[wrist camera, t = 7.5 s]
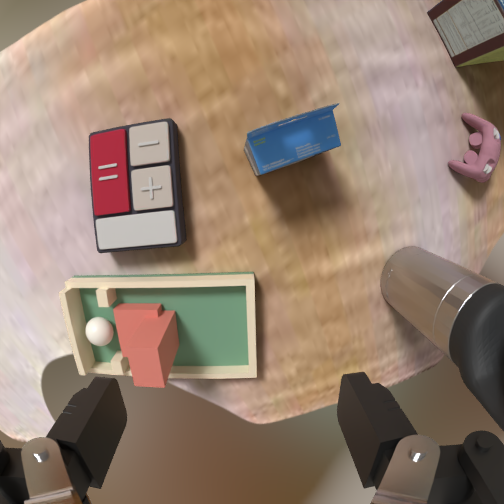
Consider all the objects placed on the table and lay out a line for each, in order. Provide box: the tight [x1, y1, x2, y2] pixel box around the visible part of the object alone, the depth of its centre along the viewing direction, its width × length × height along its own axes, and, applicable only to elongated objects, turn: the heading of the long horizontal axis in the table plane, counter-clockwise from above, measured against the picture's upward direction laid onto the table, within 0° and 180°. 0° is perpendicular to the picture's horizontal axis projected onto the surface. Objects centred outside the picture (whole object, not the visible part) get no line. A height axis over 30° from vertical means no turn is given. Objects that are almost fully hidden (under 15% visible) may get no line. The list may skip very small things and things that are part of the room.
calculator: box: [89, 118, 186, 253], centre depth 36 cm, size 11×4×15 cm
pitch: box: [59, 272, 257, 379], centre depth 39 cm, size 25×14×5 cm, turn 92°
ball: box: [85, 317, 114, 346], centre depth 38 cm, size 4×4×4 cm
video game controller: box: [448, 113, 501, 182], centre depth 35 cm, size 10×5×7 cm, turn 158°
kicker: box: [113, 303, 179, 388], centre depth 35 cm, size 8×7×10 cm
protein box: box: [427, 0, 504, 67], centre depth 26 cm, size 10×15×16 cm
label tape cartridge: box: [244, 103, 341, 176], centre depth 31 cm, size 9×4×12 cm, turn 112°
